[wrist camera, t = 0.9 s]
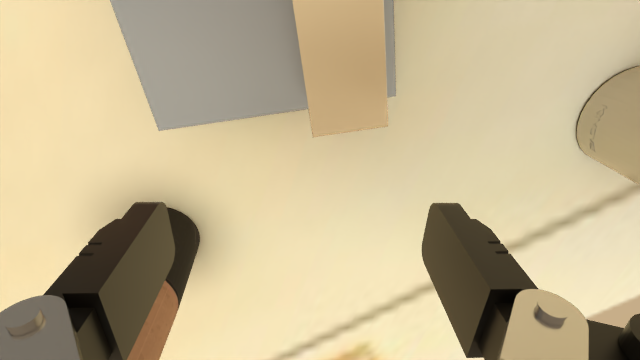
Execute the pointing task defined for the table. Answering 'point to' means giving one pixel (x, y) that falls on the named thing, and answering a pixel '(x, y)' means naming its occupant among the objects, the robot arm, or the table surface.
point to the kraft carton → (343, 63)
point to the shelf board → (221, 58)
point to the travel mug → (168, 290)
